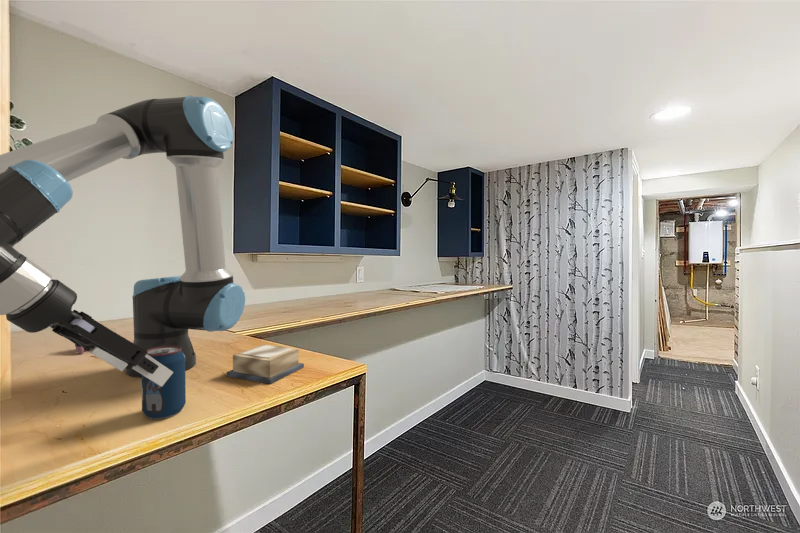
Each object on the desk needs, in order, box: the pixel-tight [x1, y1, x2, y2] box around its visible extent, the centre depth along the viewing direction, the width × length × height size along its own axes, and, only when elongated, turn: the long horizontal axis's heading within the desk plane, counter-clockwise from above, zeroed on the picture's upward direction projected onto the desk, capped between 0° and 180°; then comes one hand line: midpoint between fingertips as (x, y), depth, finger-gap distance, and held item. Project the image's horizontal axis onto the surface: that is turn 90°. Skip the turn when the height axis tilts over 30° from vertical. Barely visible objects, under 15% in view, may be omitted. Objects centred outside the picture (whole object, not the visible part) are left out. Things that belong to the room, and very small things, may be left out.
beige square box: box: [226, 343, 305, 385], centre depth 94 cm, size 13×13×5 cm
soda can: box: [141, 346, 187, 420], centre depth 70 cm, size 7×7×12 cm
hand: (145, 371), depth 67 cm, fingers open, 13 cm apart
